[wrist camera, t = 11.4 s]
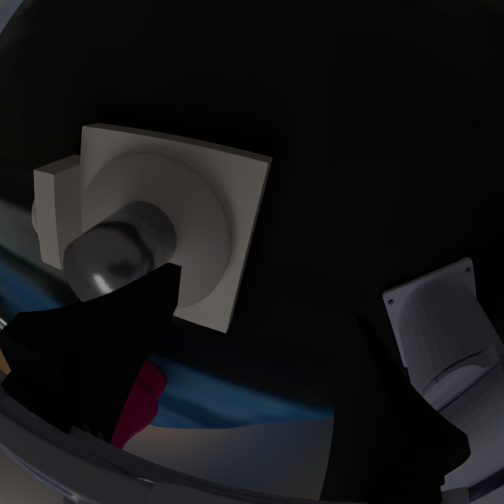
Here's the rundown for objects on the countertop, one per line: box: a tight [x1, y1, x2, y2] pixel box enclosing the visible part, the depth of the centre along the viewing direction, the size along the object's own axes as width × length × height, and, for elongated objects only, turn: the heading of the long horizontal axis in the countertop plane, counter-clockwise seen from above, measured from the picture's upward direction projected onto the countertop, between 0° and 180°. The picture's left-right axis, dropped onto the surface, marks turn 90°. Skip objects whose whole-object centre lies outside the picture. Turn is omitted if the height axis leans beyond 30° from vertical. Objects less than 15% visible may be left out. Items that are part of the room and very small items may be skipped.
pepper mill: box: [63, 360, 166, 504], centre depth 25 cm, size 7×7×20 cm
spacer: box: [63, 201, 177, 302], centre depth 18 cm, size 5×5×6 cm
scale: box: [32, 123, 273, 333], centre depth 21 cm, size 17×14×5 cm
